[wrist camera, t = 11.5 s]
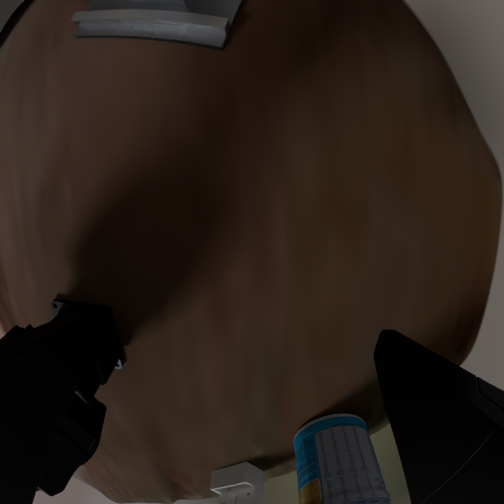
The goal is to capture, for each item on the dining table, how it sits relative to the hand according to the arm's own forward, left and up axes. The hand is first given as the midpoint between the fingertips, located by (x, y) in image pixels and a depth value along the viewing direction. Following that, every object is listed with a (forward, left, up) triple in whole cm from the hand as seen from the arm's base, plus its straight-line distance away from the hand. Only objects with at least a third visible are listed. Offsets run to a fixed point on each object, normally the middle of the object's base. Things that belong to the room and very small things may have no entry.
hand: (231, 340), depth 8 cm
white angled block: (0, -32, -12) cm, 34 cm away
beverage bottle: (+10, -22, -12) cm, 27 cm away
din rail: (-7, +19, -12) cm, 23 cm away
